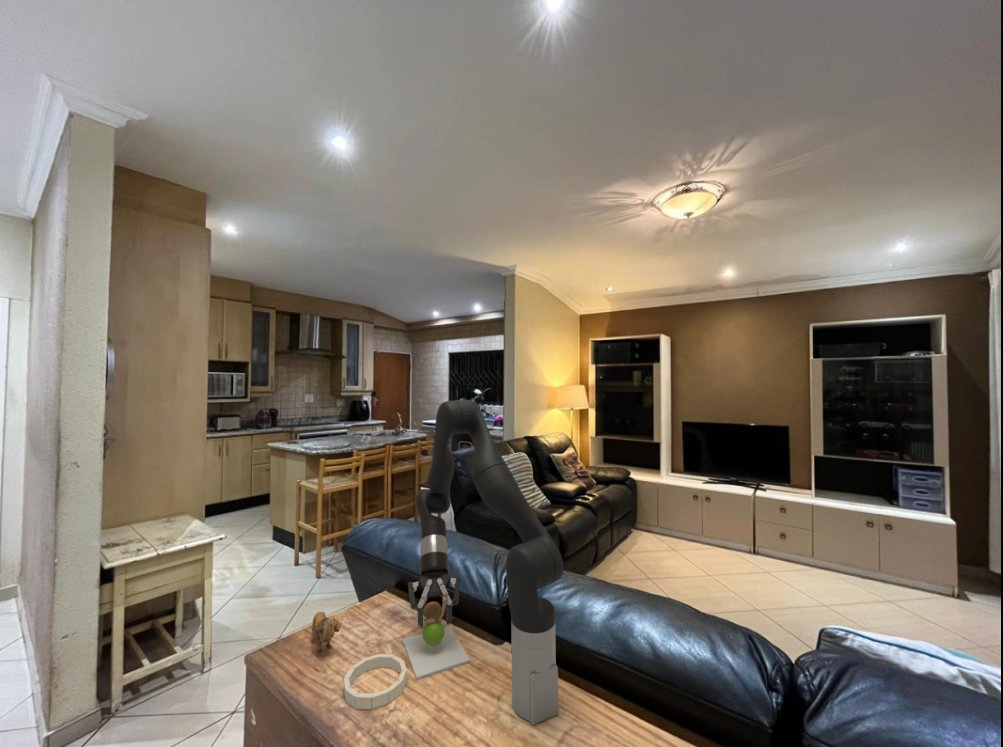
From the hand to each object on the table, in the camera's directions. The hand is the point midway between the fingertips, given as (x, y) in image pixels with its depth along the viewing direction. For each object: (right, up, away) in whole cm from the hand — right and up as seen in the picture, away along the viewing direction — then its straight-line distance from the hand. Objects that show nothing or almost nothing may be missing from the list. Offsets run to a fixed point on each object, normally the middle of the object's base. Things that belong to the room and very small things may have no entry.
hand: (435, 625), depth 98 cm
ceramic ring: (-12, -7, -10) cm, 17 cm away
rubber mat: (0, -7, +1) cm, 8 cm away
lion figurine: (-30, -8, +4) cm, 31 cm away
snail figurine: (0, -6, +2) cm, 6 cm away
